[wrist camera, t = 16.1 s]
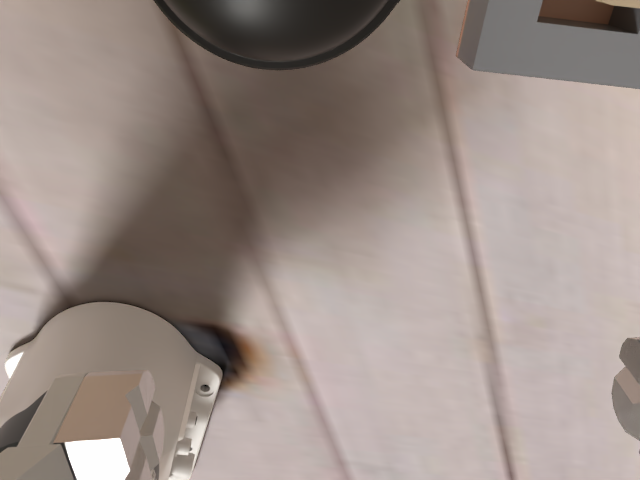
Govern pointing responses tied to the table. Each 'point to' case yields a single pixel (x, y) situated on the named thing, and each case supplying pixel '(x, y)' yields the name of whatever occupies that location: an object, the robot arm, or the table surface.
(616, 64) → the socket block
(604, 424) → the table surface
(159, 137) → the table surface
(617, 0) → the handle
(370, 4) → the water bottle
